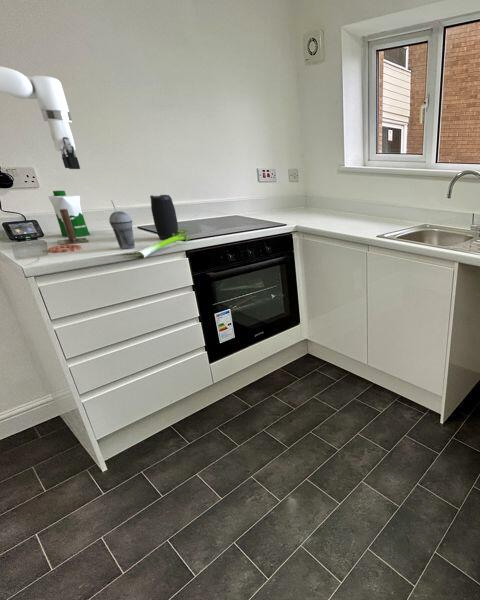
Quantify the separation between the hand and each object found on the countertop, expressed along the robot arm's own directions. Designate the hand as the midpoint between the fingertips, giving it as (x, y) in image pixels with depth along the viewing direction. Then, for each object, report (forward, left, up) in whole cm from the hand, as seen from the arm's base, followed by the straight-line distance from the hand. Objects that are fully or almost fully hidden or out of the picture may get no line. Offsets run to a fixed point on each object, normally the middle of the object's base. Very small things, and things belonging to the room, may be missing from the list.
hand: (72, 168), depth 130 cm
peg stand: (-5, +17, -31) cm, 36 cm away
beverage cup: (+9, -9, -31) cm, 34 cm away
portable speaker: (+28, +7, -31) cm, 42 cm away
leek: (+21, -15, -31) cm, 40 cm away
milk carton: (-2, +38, -31) cm, 49 cm away
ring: (-9, +2, -30) cm, 31 cm away
